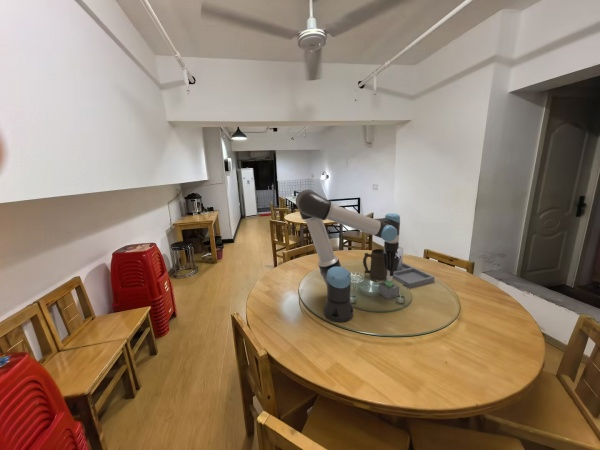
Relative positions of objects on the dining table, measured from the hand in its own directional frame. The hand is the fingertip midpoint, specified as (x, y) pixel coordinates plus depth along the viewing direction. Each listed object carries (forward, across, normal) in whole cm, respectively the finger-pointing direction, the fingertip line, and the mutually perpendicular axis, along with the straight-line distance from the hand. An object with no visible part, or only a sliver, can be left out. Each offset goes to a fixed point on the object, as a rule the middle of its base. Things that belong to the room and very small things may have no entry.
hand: (389, 280), depth 135 cm
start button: (+6, 0, 0) cm, 6 cm away
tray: (+9, +16, -26) cm, 32 cm away
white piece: (+8, +24, -24) cm, 35 cm away
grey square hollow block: (+9, 0, 0) cm, 9 cm away
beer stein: (+9, +20, -6) cm, 23 cm away
